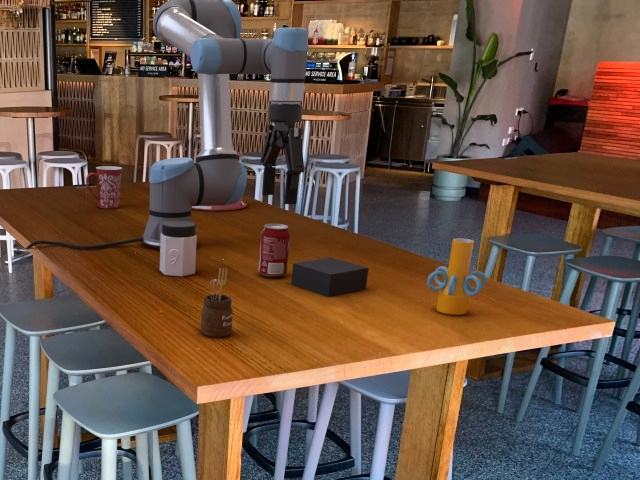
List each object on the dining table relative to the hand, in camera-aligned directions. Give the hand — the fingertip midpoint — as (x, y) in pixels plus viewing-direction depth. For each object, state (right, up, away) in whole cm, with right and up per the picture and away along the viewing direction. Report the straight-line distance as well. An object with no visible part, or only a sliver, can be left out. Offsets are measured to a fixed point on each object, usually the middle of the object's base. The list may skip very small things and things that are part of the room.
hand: (278, 199), depth 185 cm
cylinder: (+33, -28, -19) cm, 47 cm away
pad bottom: (+11, -21, -2) cm, 24 cm away
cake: (-5, +21, +99) cm, 101 cm away
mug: (-44, +19, +93) cm, 104 cm away
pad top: (+11, -18, -3) cm, 22 cm away
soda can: (0, -17, +7) cm, 19 cm away
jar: (-23, -16, +9) cm, 30 cm away
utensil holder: (-18, -34, -33) cm, 51 cm away
